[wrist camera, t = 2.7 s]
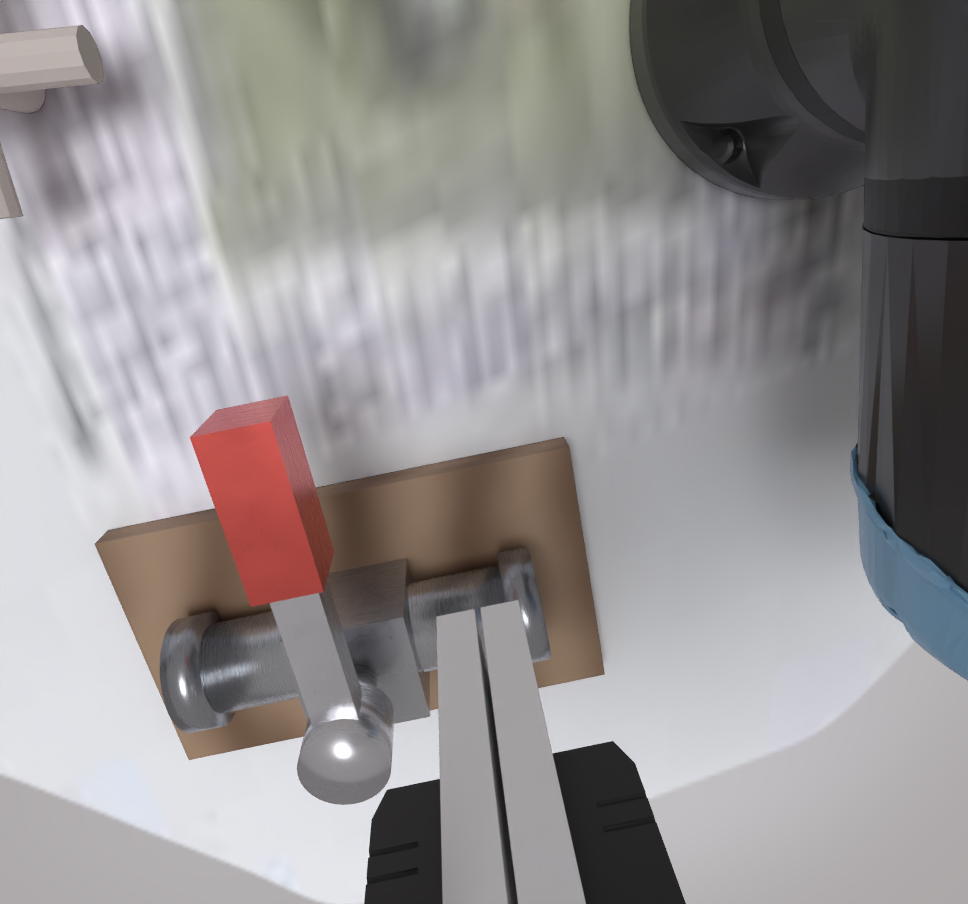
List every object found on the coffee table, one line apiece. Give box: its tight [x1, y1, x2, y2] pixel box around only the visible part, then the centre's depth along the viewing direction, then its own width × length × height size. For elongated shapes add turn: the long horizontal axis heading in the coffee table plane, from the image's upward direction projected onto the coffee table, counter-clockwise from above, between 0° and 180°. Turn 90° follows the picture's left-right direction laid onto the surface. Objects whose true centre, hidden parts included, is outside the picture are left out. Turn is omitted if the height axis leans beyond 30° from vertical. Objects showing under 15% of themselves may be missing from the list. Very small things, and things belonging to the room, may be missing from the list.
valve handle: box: [190, 396, 394, 805], centre depth 27 cm, size 4×16×3 cm, turn 11°
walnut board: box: [95, 437, 605, 760], centre depth 38 cm, size 24×14×2 cm, turn 101°
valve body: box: [160, 547, 551, 733], centre depth 34 cm, size 18×6×8 cm, turn 101°
